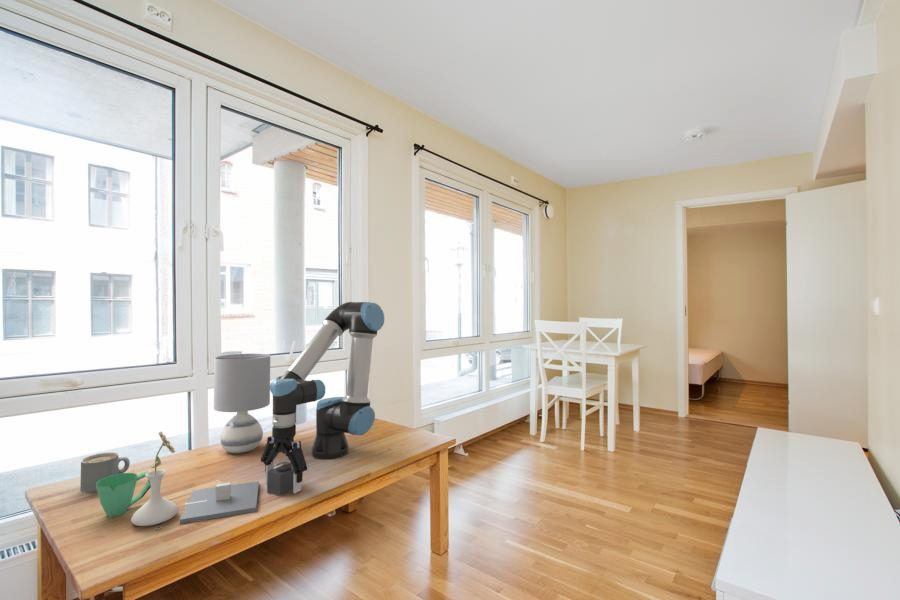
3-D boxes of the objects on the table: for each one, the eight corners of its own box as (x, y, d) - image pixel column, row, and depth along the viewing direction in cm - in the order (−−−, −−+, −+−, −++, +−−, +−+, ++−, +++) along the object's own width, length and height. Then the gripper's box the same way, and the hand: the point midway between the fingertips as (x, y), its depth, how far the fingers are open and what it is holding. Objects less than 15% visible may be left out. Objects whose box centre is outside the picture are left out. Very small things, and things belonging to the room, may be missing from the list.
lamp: (233, 463, 166) (234, 361, 166) (202, 452, 176) (203, 357, 176) (279, 447, 184) (280, 355, 184) (249, 438, 195) (250, 352, 195)
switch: (258, 484, 146) (258, 468, 146) (256, 511, 128) (256, 492, 128) (190, 494, 139) (191, 477, 139) (177, 524, 120) (177, 504, 120)
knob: (286, 482, 148) (287, 458, 148) (299, 486, 145) (299, 461, 145) (267, 492, 141) (267, 466, 141) (280, 496, 138) (280, 469, 138)
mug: (104, 524, 120) (105, 489, 120) (89, 515, 125) (90, 481, 125) (160, 503, 132) (161, 471, 133) (144, 495, 137) (145, 465, 137)
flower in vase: (170, 527, 118) (171, 439, 119) (123, 533, 115) (124, 442, 115) (185, 505, 131) (186, 425, 131) (143, 510, 128) (144, 428, 128)
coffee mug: (82, 495, 137) (82, 465, 137) (78, 486, 144) (79, 457, 144) (132, 483, 147) (133, 454, 147) (127, 475, 153) (127, 447, 153)
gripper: (250, 422, 146) (249, 483, 145) (301, 433, 134) (300, 499, 134) (268, 417, 152) (267, 476, 152) (319, 427, 141) (318, 490, 141)
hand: (283, 487), depth 143 cm, fingers open, 13 cm apart
